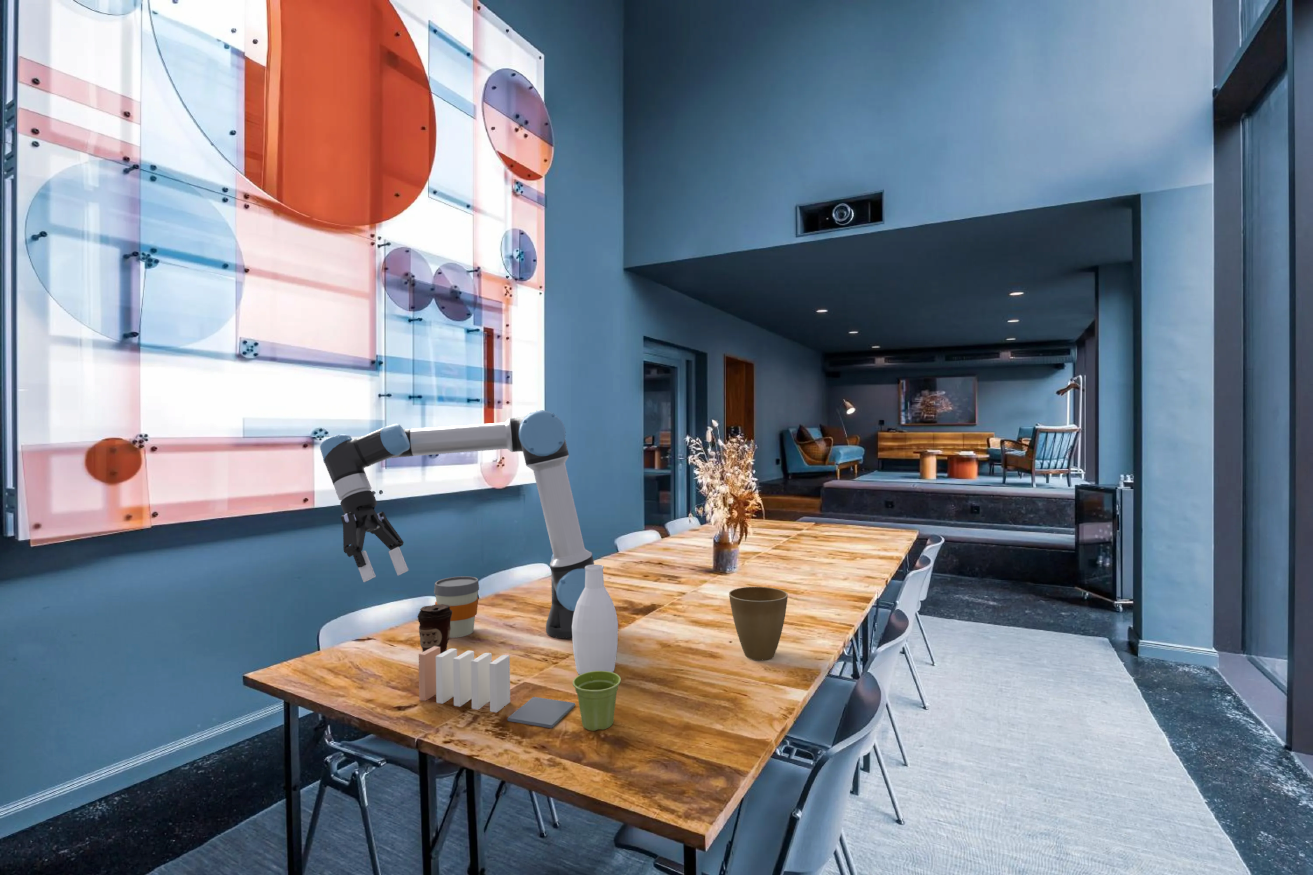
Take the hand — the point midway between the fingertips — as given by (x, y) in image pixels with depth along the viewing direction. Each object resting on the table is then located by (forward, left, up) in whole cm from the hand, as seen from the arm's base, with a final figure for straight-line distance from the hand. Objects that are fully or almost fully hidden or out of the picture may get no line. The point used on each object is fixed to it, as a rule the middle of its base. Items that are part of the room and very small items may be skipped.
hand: (387, 576), depth 140 cm
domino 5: (-27, +21, -24) cm, 42 cm away
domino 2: (-15, +15, -24) cm, 32 cm away
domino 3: (-19, +17, -24) cm, 35 cm away
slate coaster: (-36, +26, -24) cm, 51 cm away
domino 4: (-23, +19, -24) cm, 39 cm away
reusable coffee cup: (-12, -31, -24) cm, 41 cm away
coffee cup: (-9, -12, -24) cm, 28 cm away
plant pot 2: (-91, +6, -24) cm, 94 cm away
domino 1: (-12, +12, -24) cm, 30 cm away
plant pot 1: (-47, +33, -24) cm, 62 cm away
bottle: (-49, +7, -24) cm, 55 cm away
